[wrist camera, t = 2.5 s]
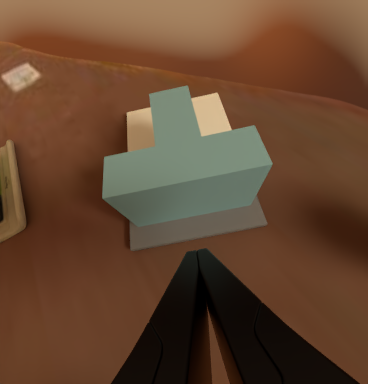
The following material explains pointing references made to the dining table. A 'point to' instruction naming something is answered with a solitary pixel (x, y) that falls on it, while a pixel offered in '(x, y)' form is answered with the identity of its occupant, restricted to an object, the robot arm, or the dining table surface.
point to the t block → (184, 167)
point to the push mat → (201, 224)
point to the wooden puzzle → (10, 194)
